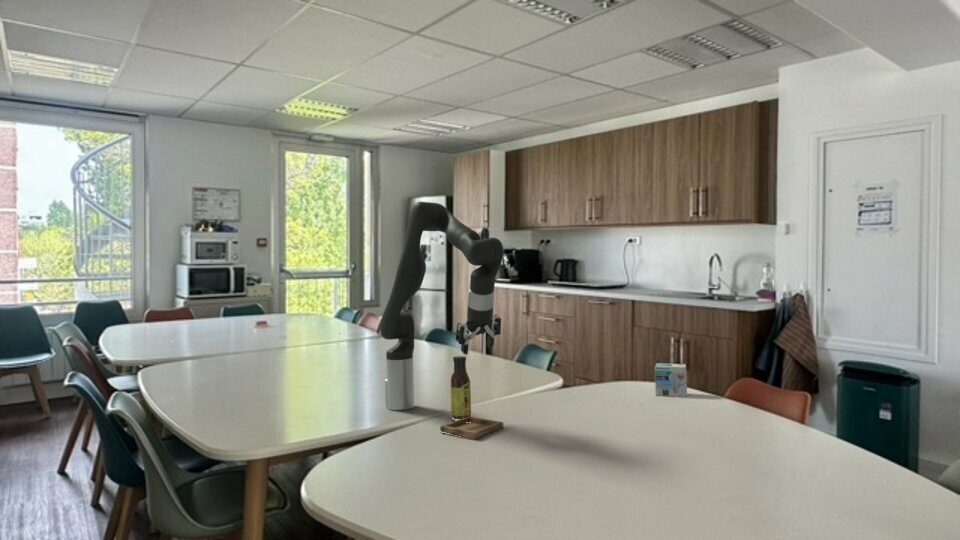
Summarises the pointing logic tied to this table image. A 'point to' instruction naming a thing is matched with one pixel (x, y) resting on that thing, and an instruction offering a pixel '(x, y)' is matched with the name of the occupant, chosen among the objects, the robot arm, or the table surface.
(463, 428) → the walnut tray
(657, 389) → the light bulb box
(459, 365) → the sauce bottle
